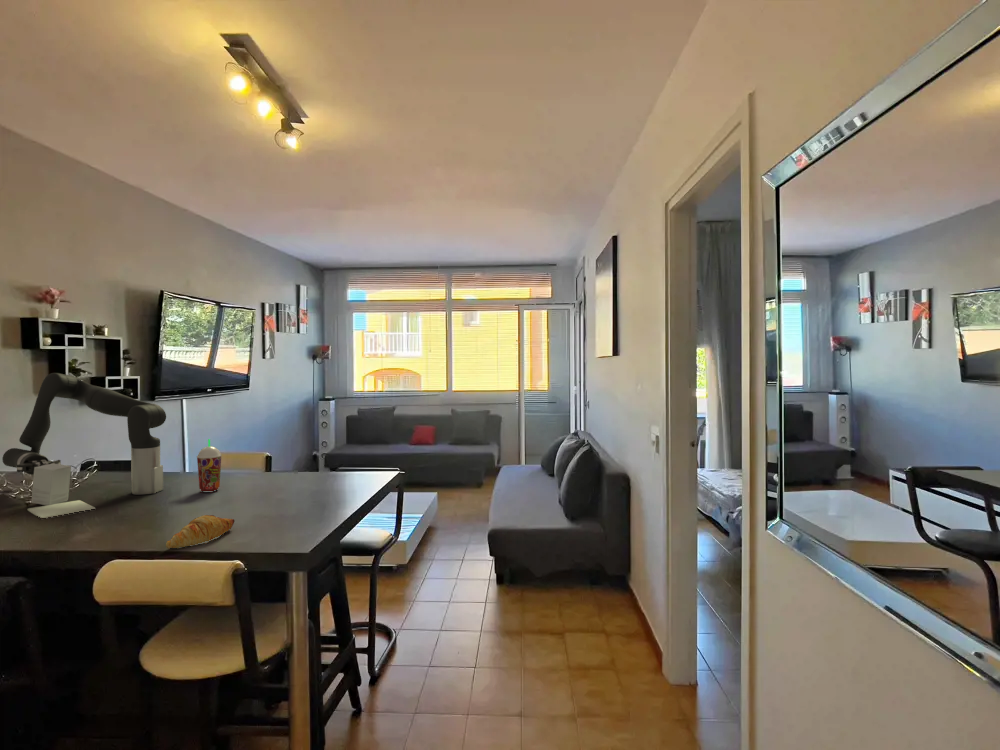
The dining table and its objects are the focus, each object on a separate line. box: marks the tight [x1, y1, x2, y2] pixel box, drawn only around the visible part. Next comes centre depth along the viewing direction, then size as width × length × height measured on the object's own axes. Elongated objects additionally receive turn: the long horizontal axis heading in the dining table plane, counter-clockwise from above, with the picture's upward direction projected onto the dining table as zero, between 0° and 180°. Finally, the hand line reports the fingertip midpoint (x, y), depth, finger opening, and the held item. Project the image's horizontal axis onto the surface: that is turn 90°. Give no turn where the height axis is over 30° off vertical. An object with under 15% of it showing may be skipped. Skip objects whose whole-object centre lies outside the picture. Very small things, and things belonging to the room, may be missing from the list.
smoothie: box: [196, 438, 222, 492], centre depth 205 cm, size 8×8×20 cm
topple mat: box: [27, 499, 96, 519], centre depth 179 cm, size 16×14×1 cm
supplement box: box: [31, 463, 72, 506], centre depth 187 cm, size 7×7×13 cm
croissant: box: [165, 514, 235, 550], centre depth 150 cm, size 21×10×8 cm, turn 160°
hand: (46, 468), depth 188 cm, fingers closed
